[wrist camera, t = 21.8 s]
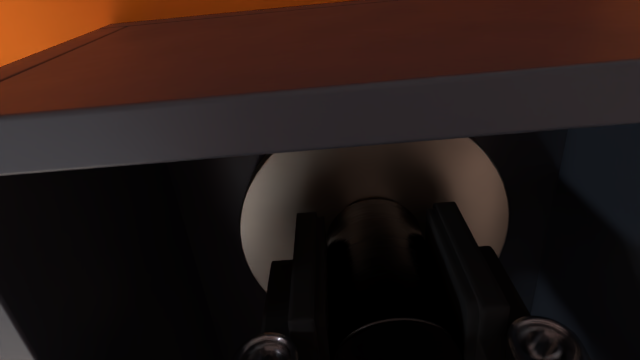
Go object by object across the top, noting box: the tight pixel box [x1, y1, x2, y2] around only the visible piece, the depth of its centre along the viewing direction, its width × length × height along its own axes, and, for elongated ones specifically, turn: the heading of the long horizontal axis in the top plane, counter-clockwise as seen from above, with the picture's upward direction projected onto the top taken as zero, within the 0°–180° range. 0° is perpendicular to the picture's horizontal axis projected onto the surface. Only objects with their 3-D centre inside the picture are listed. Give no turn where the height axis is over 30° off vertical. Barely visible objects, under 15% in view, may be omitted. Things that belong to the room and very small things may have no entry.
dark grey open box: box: [0, 0, 640, 360], centre depth 12 cm, size 15×14×8 cm
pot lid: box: [239, 137, 510, 360], centre depth 11 cm, size 8×8×5 cm
